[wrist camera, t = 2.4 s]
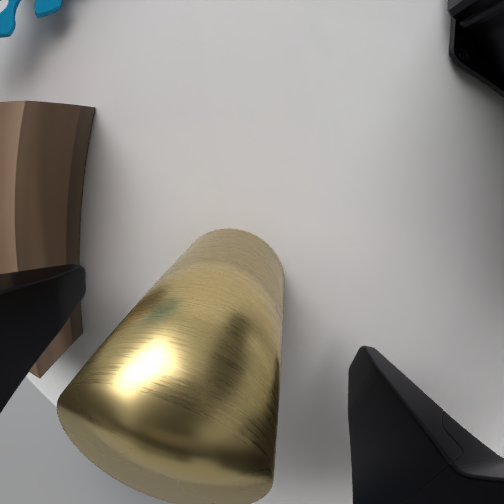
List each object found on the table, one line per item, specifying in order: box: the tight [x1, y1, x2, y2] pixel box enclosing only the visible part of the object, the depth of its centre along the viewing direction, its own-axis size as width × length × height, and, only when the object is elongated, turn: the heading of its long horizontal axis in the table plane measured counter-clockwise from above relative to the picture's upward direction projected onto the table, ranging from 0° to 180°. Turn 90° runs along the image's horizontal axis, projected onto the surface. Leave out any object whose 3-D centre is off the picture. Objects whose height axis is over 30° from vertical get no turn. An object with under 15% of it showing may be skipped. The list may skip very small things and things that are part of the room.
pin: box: [57, 229, 284, 504], centre depth 8 cm, size 4×4×8 cm
